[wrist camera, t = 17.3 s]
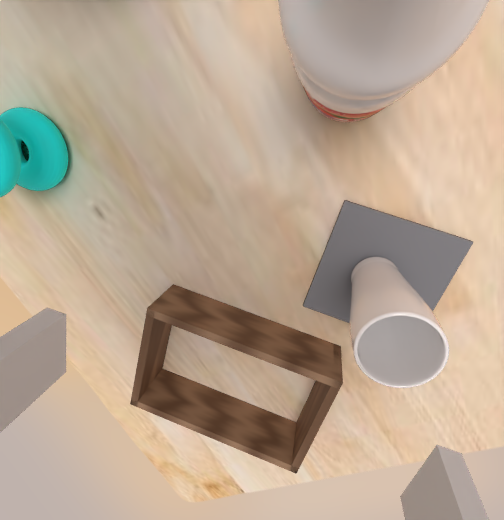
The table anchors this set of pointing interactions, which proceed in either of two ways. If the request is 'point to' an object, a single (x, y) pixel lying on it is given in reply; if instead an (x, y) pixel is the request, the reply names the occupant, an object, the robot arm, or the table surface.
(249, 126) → the table surface
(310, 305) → the charcoal mat
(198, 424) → the walnut open box frame
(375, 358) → the drinking glass
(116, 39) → the table surface
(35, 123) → the donuts
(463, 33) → the fruit juice
